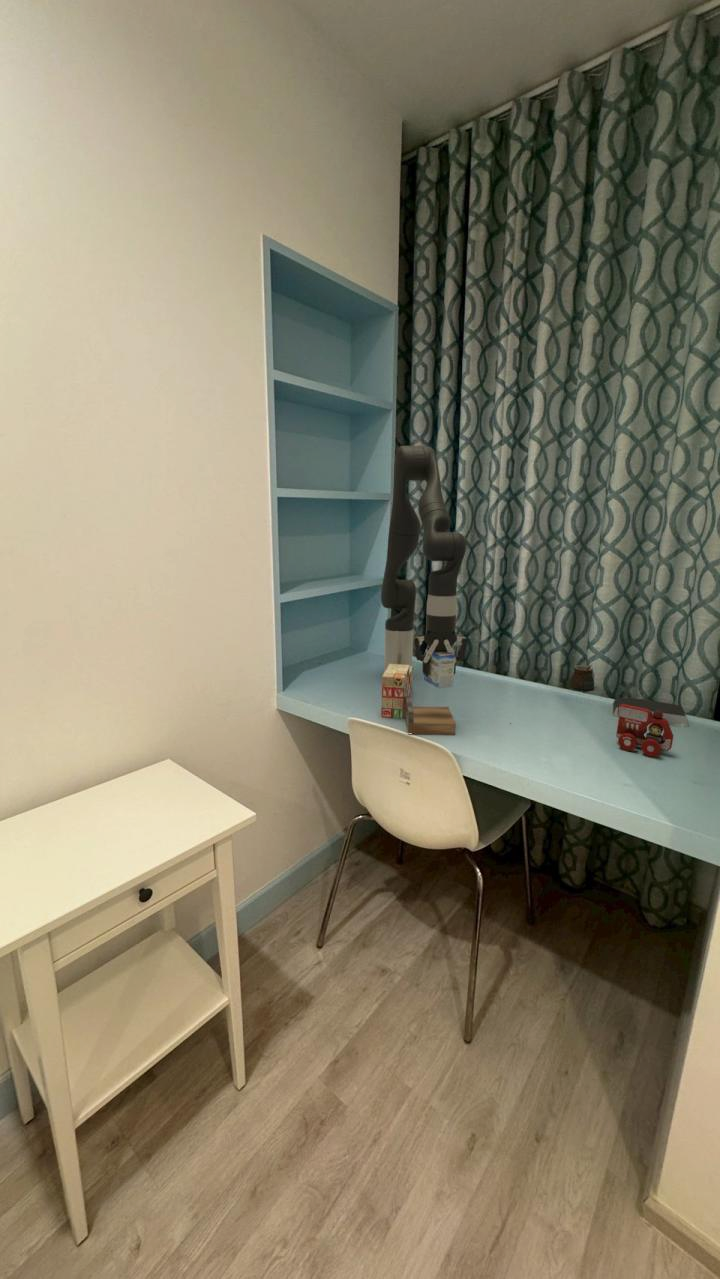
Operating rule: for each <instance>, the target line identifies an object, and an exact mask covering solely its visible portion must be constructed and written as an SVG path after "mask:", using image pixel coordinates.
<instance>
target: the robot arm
mask: <svg viewBox="0 0 720 1279" xmlns="http://www.w3.org/2000/svg"><path fill="white" fill-rule="evenodd" d="M439 470H440V469H439V463H438V458H437V455H436V453H435V450H434V448H432V447H431V446H429V445H400V446H399V447H398V448H397V450H396V452H395V457H394V465H393V487H392V488H393V489H392V490H393V492H392V493H393V494H392V503H391V512H390V513H391V514H390V520H389V528H388V535H387V536H388V537H387V548H386V550H387V551H386V552H387V553H386V562H385V567H384V572H383V573H384V574H383V580H382V584H381V585H382V586H381V593H380V600H381V601H380V602H381V604H382V607H383V608H385V609H392V610H393V609H401V611H400V612H399V613H398V614H396V615H394V616H392V617H389V618H387V619H386V620H385V625H384V626H385V627H384V669H383V670H384V672H383V674H384V673H385V671H386V670H387V668H388V665H389V664H400V665H410V666H413V653H414V654H415V657H416V658H415V659H416V660H417V661H419V662H420V661H421V662H422V669H421V670H422V674H423V675H424V674H425V677H428V671H429V663H428V660H429V658H430V656H431V655H432V654H433V652H438V651H442V652H446V651H447V652H448V653H449V654H453V655H455V653H454V651H453V648H452V647H453V645H455V643H456V642H457V644H458V650H457V651H458V652H457V654H456V655H455V663H454V676H455V675H456V668H457V663H458V662H462V661H464V659H465V654H466V649H467V645H468V639H467V637H466V636H464V635H463V636H457V634H456V633H457V632H456V631H457V629H456V627H457V626H456V624H457V612H458V609H457V607H458V603H457V602H458V600H457V590H458V589H457V588H458V586H457V585H458V578H459V573H460V570H461V567H462V565H463V564H462V563H463V561H464V558H465V556H466V555H465V554H466V551H467V542H466V538H465V536H464V535H463V534H462V533H461V532H458V531H450V532H449V529H450V528H451V524H452V522H451V521H452V520H451V518H450V515H449V512H448V509H447V507H446V503H445V500H444V497H443V492H442V485H441V475H440V471H439ZM408 481H411V482H412V481H414V482H415V481H419V482H420V481H422V482H423V481H425V482H426V486H425V488H424V491H423V492H422V493H421V496H420V498H419V501H418V505H417V506H418V507H417V508H418V514H417V512H416V510H415V508H414V507H413V504H412V503H411V501H410V497H409V494H408V488H407V487H408V486H407V484H408ZM418 515H419V517H418ZM419 518H420V519H419ZM420 521H421V522H420ZM421 525H422V528H423V529H422V530H423V540H422V541H423V543H422V553H423V555H424V557H425V559H427V560H428V561H431V562H446V564H445V566H444V567H443V568H441V569H437V570H436V569H435V570H433V571H431V572H430V573H429V576H428V588H427V589H428V593H427V600H426V616H425V633H424V634H423V636H417V635H415V636H414V623H415V608H416V599H417V588H416V584H415V581H413V580H412V579H397V577H398V574H399V572H400V570H401V569H402V567H403V566H404V565H405V563H406V562H407V561H408V560H409V559H410V557H412V556H413V555H414V552H415V551H416V550H417V548H418V545H419V541H420V532H421ZM423 641H424V642H425V643H426V645H427V647H426V649H425V650H426V652H424V654H423V655H422V654H421V647H420V646H421V645H422V644H423ZM413 646H414V647H413ZM413 650H414V652H413Z"/></svg>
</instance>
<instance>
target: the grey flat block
mask: <svg viewBox="0 0 720 1279" xmlns="http://www.w3.org/2000/svg"><path fill="white" fill-rule="evenodd" d="M612 703H613V705H612V709H613V710H612V711H613V712H612V716H613V717H616V718H619V716H618V713H617V712H618V707H619V705H621V704H626V705H630V706H635V707H640V708H644V709H649V710H650V711H651V712H652V715H653V713H654V712H655V711H657V710H659V711H661V712H662V713H663V717H662V718H664V719H666V720H667V721H668V723H669V726H672V727H681V728H682V727H683V728H689V723H688V718H687V716H686V713H685V711H684V709H683V706H682V705H678V704H674V703H668V702H662V701H657V700H651V699H644V698H643V699H640V698H634V697H633V698H631V697H616V698H615V699H614V700H613V702H612Z"/></svg>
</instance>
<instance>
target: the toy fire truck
mask: <svg viewBox="0 0 720 1279" xmlns="http://www.w3.org/2000/svg"><path fill="white" fill-rule="evenodd" d="M617 713H618V716H619V717H618V723H617V728H616V734H615V736H616V738H617V743H618V746H619V747H620V748H621V749H622V750H623V751H627V752H631V751H634V750H635V749H636V747H637V746H638V744H639V745H641V746H640V749H641V751H642V753H643V754H644V755H645V756H647V757H651V758H654V757H657V756H659V755H660V753H661V751H666V752H668V751H670V750H672V747H673V742H674V734H673V732H672V729H671V727H670V725H669V723H668V721H667V720H666V719H664V718H662V717H663V713H662V712H661V711H659V710H657V711H655V712H654V713H653V715H652V712H651V711H650V710H649V709H644V708H640V707H635V706H630V705H626V704H621V705H619V707H618V712H617ZM647 731H648V732H647Z"/></svg>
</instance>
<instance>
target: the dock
mask: <svg viewBox="0 0 720 1279" xmlns="http://www.w3.org/2000/svg"><path fill="white" fill-rule="evenodd" d="M404 720H405V725H406V730H407V734H408V733H412V734H411V735H415V734H416V735H415V736H417V735H418V736H419V735H423V736H424V735H427V736H428V735H430V736H431V735H433V736H435V735H436V736H441V735H442V736H455V735H456V724H457V723H456V722H455V719H454V717H453V714H452V712H451V710H450V708H449V707H448V706H447V707H446V706H441V707H440V706H413V705H412V700H411V699H410V697H408V696H405V716H404Z"/></svg>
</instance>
